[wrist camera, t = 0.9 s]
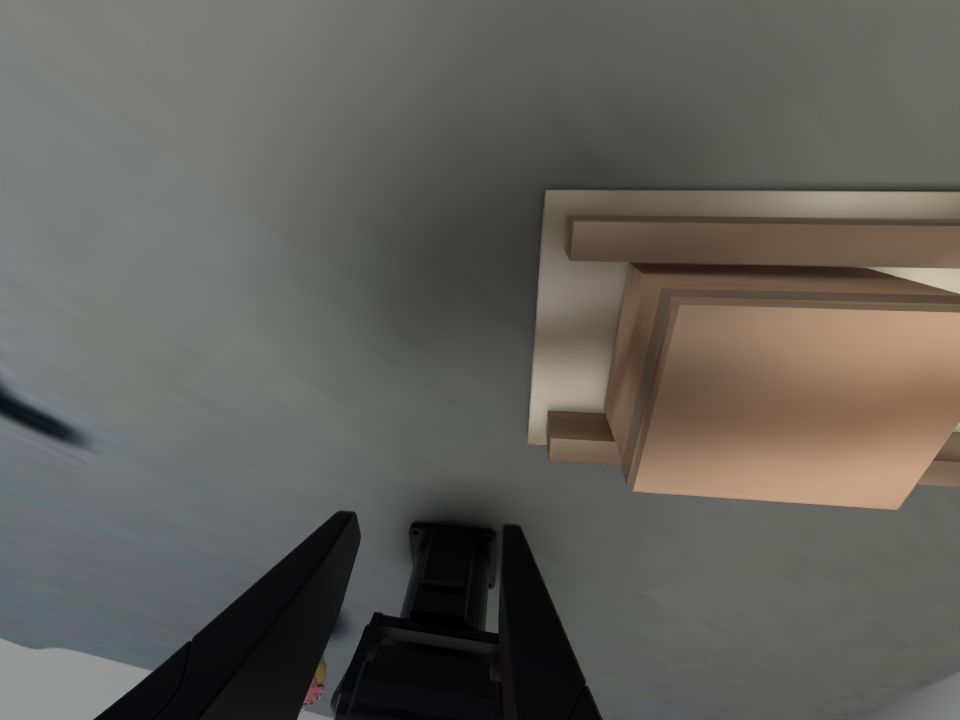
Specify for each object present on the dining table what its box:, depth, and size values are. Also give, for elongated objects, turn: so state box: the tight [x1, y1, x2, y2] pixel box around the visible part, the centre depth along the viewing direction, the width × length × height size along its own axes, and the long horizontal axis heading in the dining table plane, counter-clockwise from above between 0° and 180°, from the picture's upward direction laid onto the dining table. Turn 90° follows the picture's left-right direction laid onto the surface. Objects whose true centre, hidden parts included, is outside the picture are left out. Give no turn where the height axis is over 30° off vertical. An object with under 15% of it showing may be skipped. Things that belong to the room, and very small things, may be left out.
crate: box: [604, 263, 960, 510], centre depth 16 cm, size 8×10×6 cm
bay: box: [527, 189, 960, 487], centre depth 17 cm, size 14×30×4 cm, turn 90°
